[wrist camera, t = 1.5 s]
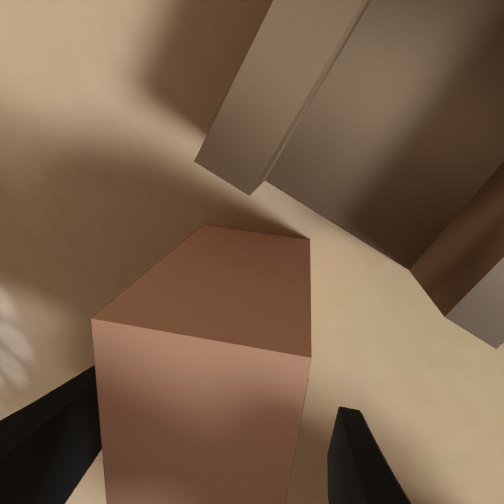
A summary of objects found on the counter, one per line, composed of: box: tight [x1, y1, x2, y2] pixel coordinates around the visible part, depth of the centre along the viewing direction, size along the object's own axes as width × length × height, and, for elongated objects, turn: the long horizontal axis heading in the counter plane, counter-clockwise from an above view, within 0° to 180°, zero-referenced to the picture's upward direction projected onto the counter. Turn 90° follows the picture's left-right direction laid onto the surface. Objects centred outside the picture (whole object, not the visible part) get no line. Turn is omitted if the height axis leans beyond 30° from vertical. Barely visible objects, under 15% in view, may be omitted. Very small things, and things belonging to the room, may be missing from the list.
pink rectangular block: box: [91, 225, 311, 504], centre depth 11 cm, size 4×10×7 cm, turn 175°
